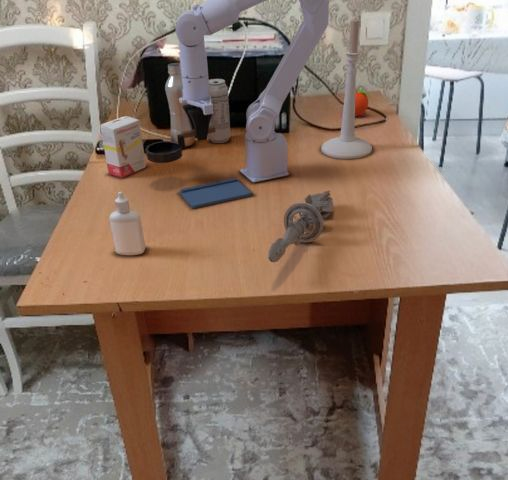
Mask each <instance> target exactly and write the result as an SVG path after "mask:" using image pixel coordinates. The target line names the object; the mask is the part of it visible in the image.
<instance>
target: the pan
mask: <svg viewBox="0 0 508 480" xmlns="http://www.w3.org/2000/svg"><path fill="white" fill-rule="evenodd" d="M214 132H216V131H215V127H214V126H209V129H208V134H209V133H214ZM193 136H196V133H195V129H193V130H187V131H182V132H181V134H179V135H177V138H178V143H177V142H173V141H171V140H163V141H157V142H152V143H151V144H148V145H147V146H146V147H145V150H144V152H145V156H146V159H147V160H148V161H149V162H151V163H154V164H167V163H168V164H169V163H173V162H176V161H179V160H180V159H181V158H182V157H183V151H186V150H187V149H186V147H185V140H184V138H188V137H193Z"/></svg>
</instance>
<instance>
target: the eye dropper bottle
mask: <svg viewBox="0 0 508 480" xmlns="http://www.w3.org/2000/svg"><path fill="white" fill-rule="evenodd" d="M114 204H115V205H114V206H115V209H116V210H114V211H113V212H111V213H110V215H109V217H108V219H109V226H110V230H111V237H112V240H113V245H114V250H115V253H116V254H118V255H121V256H137V255H141V254H143V253H144V252H145V250H146V241H145V235H144V230H143V225H142V224H143V223H142V218H141V215H140V213H139V212H138V211H136V210H133V209H131V207H130V201H129V197H127V196H124V193H123V191H118V192H117V197H116V198H115V200H114Z"/></svg>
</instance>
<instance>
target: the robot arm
mask: <svg viewBox="0 0 508 480" xmlns="http://www.w3.org/2000/svg"><path fill="white" fill-rule="evenodd" d="M266 1H267V0H207V1H205V2H203V3H202V4H199V5H198V3H195V4H194V5H192V6H191V7H192V10H191V9H187V10H185V11H184V12H182V13H181V14H180V15H179V17H178V20H177V21H176V24H175V35H176V37H177V39H178V48H179V54H178V55H179V63H180V65H181V74H182V83H183V89H182V92H183V97H182V98H179V102H180V103H187V104H188V105H184V106H182V107H183V109H184V111H185V113H186V114H187V117H188V119H189V121H190V124H191V128H192V130H193V129H195V133H196V136H194V137H195V139H197V141H198V142H201V141H206V140H208V129H209V123H210V120H211V117H212V115H213V113H214V109H213V104H212V103H211V95H210V91H209V80H210V79H209V68H208V58H207V57H208V56H207V50H206V45H205V44H206V43H205V36H212V35H214V34H216V33H218V32H220V31H222V30H224V29H226V28H228V27H230V26H232V25H234V24H236V23H237V22H238V21H239V18H240V15H241V13H242V12H244V11H247V10H249V9H250V8H253V7H255V6H257V5H259V4H262V3H264V2H266ZM298 2H299V4H300V5H299V6H300V10H301V13H302V19H303V21H302V22H301V23H300V26H299V27H298V29H297V31H296V33H295V35H294V36H293V38H292V40H291V41H290V44H289V45H288V47H287V49H286V51H285V52H284V55H282V58H281V59H280V62H279V63H278V65H277V67H276V69H275V70H274V72H273V75H272V76H271V78H270V80H269V82H268V83H267V85H266V87H265V88H264V90H263V91H262V92H261V93H260V94H259V96H258V98H257V99H256V100H255V101H253V102H252V103H251V104H250V105H248V107H247V109H246V112H245V113H246V114H245V117H246V124H245V129H246V132H245V134H244V150H245V167H244V168H241V169H239V171H240V173H241V174H242V175H243V176H245V177H246V178H247V179H248V180H249V181H250V182H252V183H259V182H263V181H267V180H272V179H277V178H282V177H287V176H289V175H290V173H289V172H288V165H289V164H288V159H289V157H288V155H289V154H288V153H289V152H288V151H289V150H288V142H287V140H286V137H285V135H284V134H283V133H281V132H276V131H275V129H276V128H275V127H276V122H277V119H278V117H279V115H280V112H281V111H282V106H283V104H284V102H285V101H286V99H287V97H288V95H289V93H290V92H291V90H292V89H293V87H294V85H295V84H296V81H297V80H298V78H299V77H300V74H301V73H302V72H303V70H304V67H305V66H306V64H307V63H308V61H309V59H310V57H311V56H312V54H313V52H314V50H315V49H316V47H317V45H318V43H319V42H320V41H321V38H322V37H323V35H324V34H325V32H326V30H327V28H328V27H329V15H330V13H329V12H330V11H329V9H330V8H329V7H330V6H329V5H330V0H298Z"/></svg>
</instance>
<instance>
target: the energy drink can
mask: <svg viewBox="0 0 508 480" xmlns="http://www.w3.org/2000/svg"><path fill="white" fill-rule="evenodd" d="M209 91H210V95H211V103H212V104H213V109H214V113H213V115H212V117H211V120H210V123H209V126H214V127H215V131H216V132H214V133H209V134H208V136H207V139H209V140H210V142H211V143H213V144H224V143H227V142H228V141H229V140H230V138H231V122H230V121H231V119H230V104H229V87H228V86H227V84H226V80H225V79H222V78H211V79H209Z"/></svg>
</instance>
